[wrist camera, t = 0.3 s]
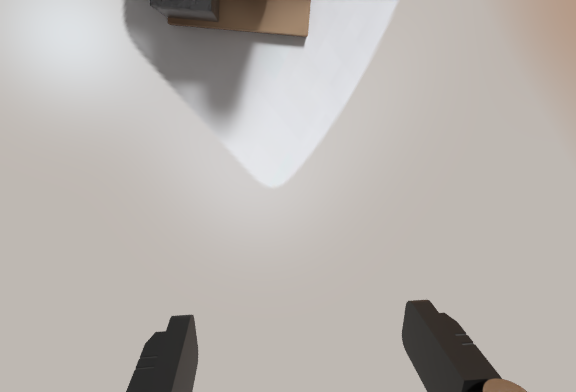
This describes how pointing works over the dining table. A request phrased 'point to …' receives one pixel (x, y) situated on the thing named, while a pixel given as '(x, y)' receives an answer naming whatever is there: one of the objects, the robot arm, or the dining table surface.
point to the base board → (258, 17)
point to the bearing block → (188, 9)
